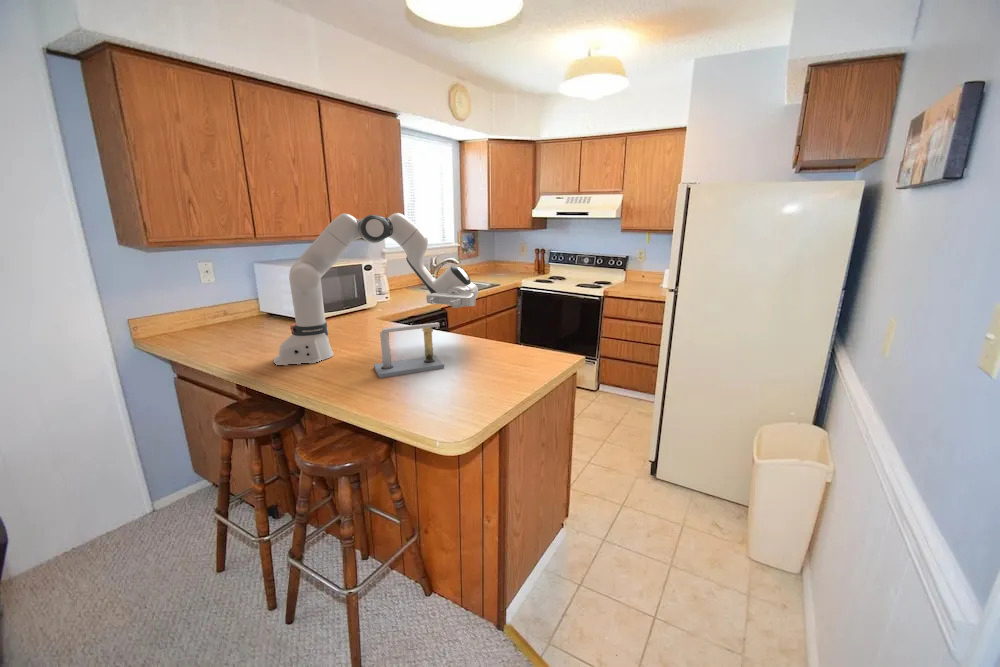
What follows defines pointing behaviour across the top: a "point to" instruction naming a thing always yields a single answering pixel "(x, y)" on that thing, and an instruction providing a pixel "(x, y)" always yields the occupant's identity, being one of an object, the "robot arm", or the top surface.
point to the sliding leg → (428, 343)
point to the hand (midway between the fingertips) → (441, 302)
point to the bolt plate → (403, 365)
